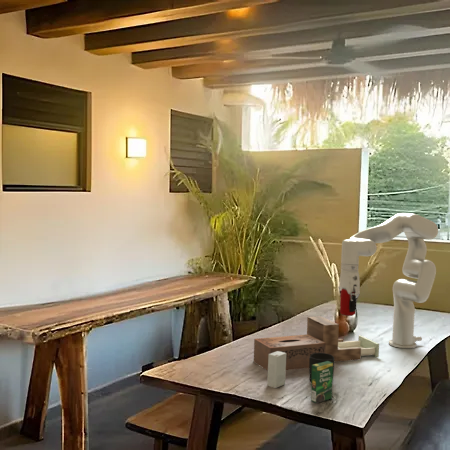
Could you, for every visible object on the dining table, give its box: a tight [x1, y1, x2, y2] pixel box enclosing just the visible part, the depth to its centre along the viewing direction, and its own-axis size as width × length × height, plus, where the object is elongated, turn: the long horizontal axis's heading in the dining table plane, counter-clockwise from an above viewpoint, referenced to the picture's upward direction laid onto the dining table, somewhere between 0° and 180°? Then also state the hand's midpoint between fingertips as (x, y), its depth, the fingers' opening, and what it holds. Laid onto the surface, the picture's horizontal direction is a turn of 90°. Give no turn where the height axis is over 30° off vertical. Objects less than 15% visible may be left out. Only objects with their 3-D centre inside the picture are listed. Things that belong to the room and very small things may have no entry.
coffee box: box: [310, 361, 334, 404], centre depth 200 cm, size 8×3×13 cm, turn 125°
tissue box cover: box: [253, 333, 326, 372], centre depth 241 cm, size 26×14×10 cm, turn 113°
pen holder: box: [308, 353, 335, 383], centre depth 219 cm, size 9×9×10 cm
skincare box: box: [266, 351, 287, 389], centre depth 215 cm, size 6×4×12 cm
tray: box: [338, 334, 380, 358], centre depth 258 cm, size 19×15×6 cm
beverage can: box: [339, 288, 357, 317], centre depth 256 cm, size 7×7×12 cm
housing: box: [306, 315, 362, 363], centre depth 255 cm, size 18×16×16 cm
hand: (348, 307), depth 256 cm, fingers closed on beverage can, 6 cm apart
